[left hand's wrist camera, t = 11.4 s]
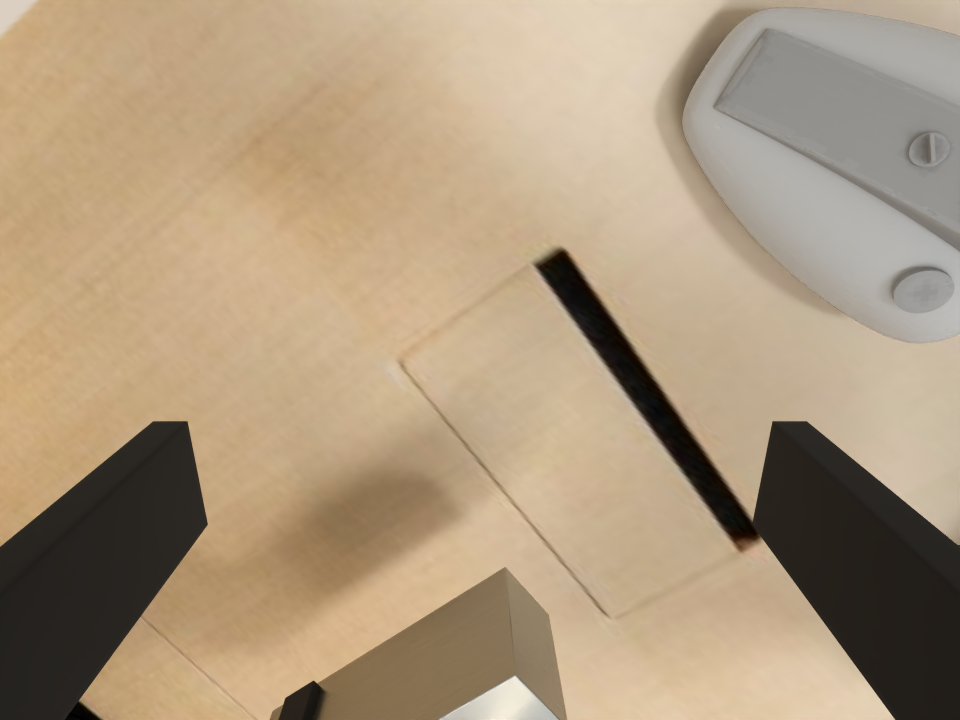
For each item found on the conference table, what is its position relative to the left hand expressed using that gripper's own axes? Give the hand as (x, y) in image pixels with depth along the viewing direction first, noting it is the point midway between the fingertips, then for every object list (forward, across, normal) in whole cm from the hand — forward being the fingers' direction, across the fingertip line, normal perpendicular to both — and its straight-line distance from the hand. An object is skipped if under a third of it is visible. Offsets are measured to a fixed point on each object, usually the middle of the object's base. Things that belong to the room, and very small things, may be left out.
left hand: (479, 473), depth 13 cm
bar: (+19, -5, -28) cm, 34 cm away
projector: (+30, +24, +6) cm, 39 cm away
